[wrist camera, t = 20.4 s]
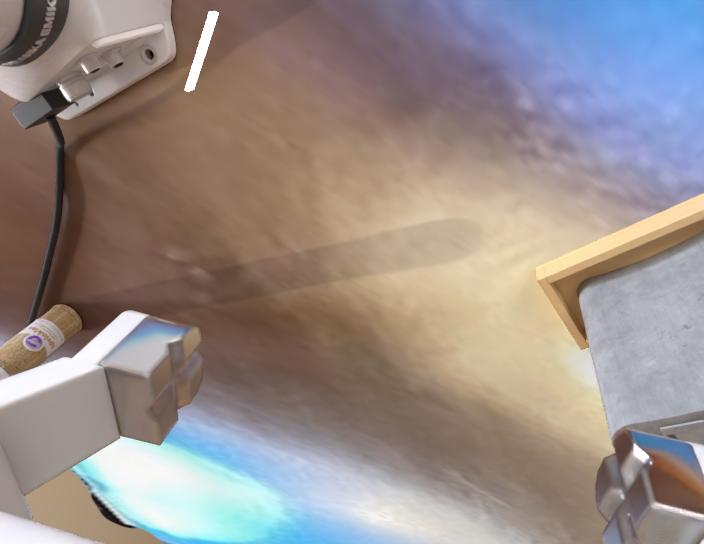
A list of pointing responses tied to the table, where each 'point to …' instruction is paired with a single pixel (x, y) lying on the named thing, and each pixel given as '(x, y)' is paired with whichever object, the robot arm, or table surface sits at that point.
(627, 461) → the robot arm
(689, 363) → the hip flask
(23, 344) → the sprinkles bottle
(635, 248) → the flask stand
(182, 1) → the table surface
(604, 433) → the table surface
